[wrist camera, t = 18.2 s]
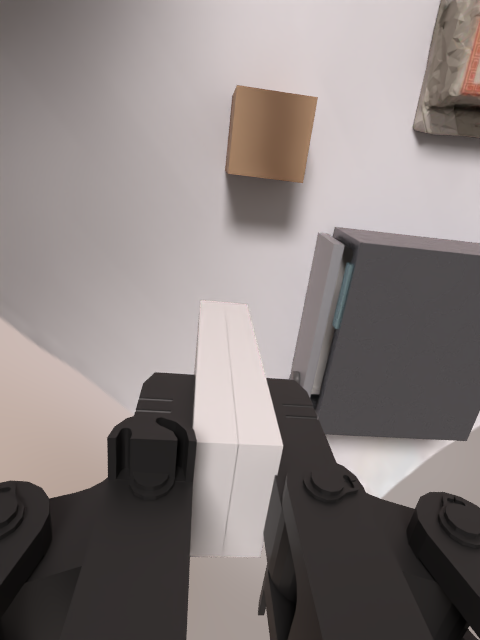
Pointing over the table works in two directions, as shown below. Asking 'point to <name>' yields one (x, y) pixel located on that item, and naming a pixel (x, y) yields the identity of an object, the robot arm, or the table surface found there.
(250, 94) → the block
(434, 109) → the packaged product
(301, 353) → the tray
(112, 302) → the table surface
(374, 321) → the housing
